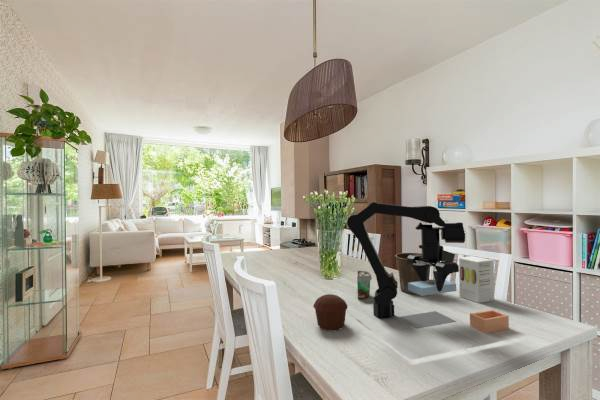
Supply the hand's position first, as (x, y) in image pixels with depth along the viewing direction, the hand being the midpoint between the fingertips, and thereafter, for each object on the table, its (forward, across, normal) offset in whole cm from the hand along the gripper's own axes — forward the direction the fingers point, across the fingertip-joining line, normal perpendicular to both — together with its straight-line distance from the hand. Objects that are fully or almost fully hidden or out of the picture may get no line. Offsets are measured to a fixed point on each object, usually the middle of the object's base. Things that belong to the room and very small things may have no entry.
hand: (431, 288), depth 103 cm
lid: (+1, 0, 0) cm, 1 cm away
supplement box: (+12, +14, -35) cm, 39 cm away
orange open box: (+12, -11, -12) cm, 20 cm away
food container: (+12, +33, +7) cm, 36 cm away
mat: (+12, +1, +2) cm, 12 cm away
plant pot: (+12, +32, -18) cm, 39 cm away
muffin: (+12, +10, +33) cm, 37 cm away
